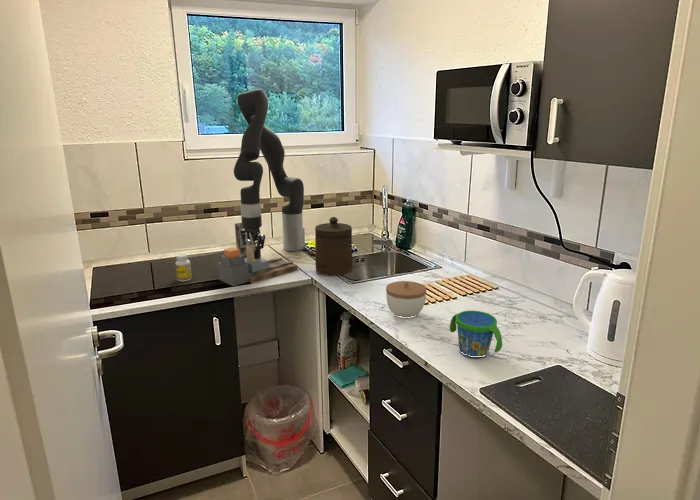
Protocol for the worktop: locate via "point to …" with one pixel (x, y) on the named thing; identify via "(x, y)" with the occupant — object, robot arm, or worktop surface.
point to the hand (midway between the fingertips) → (253, 257)
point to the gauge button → (231, 252)
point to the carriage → (255, 260)
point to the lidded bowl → (405, 298)
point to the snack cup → (476, 332)
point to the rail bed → (273, 270)
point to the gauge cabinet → (233, 270)
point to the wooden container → (333, 248)
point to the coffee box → (240, 240)
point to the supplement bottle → (183, 268)
